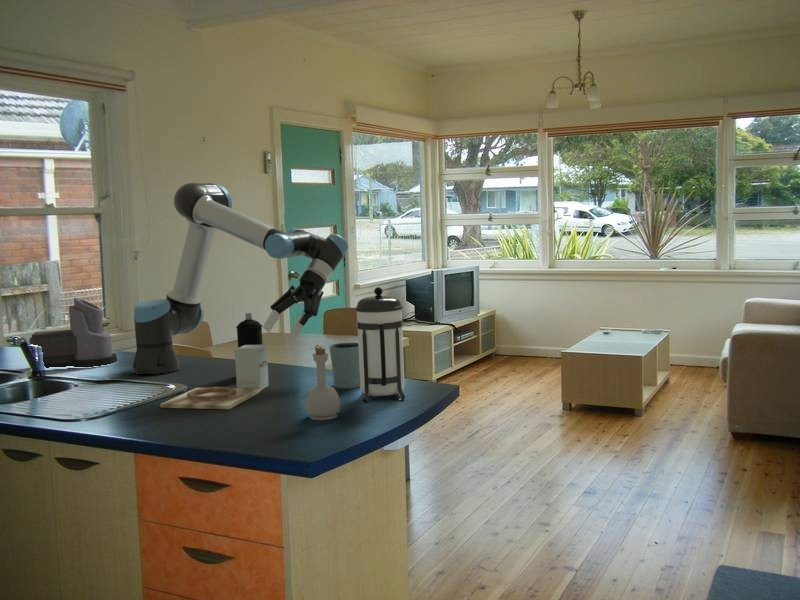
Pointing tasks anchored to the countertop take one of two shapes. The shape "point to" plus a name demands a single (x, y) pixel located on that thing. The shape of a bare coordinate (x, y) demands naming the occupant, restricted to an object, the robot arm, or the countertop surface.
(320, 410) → the potion bottle
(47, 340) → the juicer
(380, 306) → the coffee press
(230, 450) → the countertop surface
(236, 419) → the countertop surface
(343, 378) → the teal cup
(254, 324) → the aerosol can
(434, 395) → the countertop surface
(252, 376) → the supplement box
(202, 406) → the collar board
